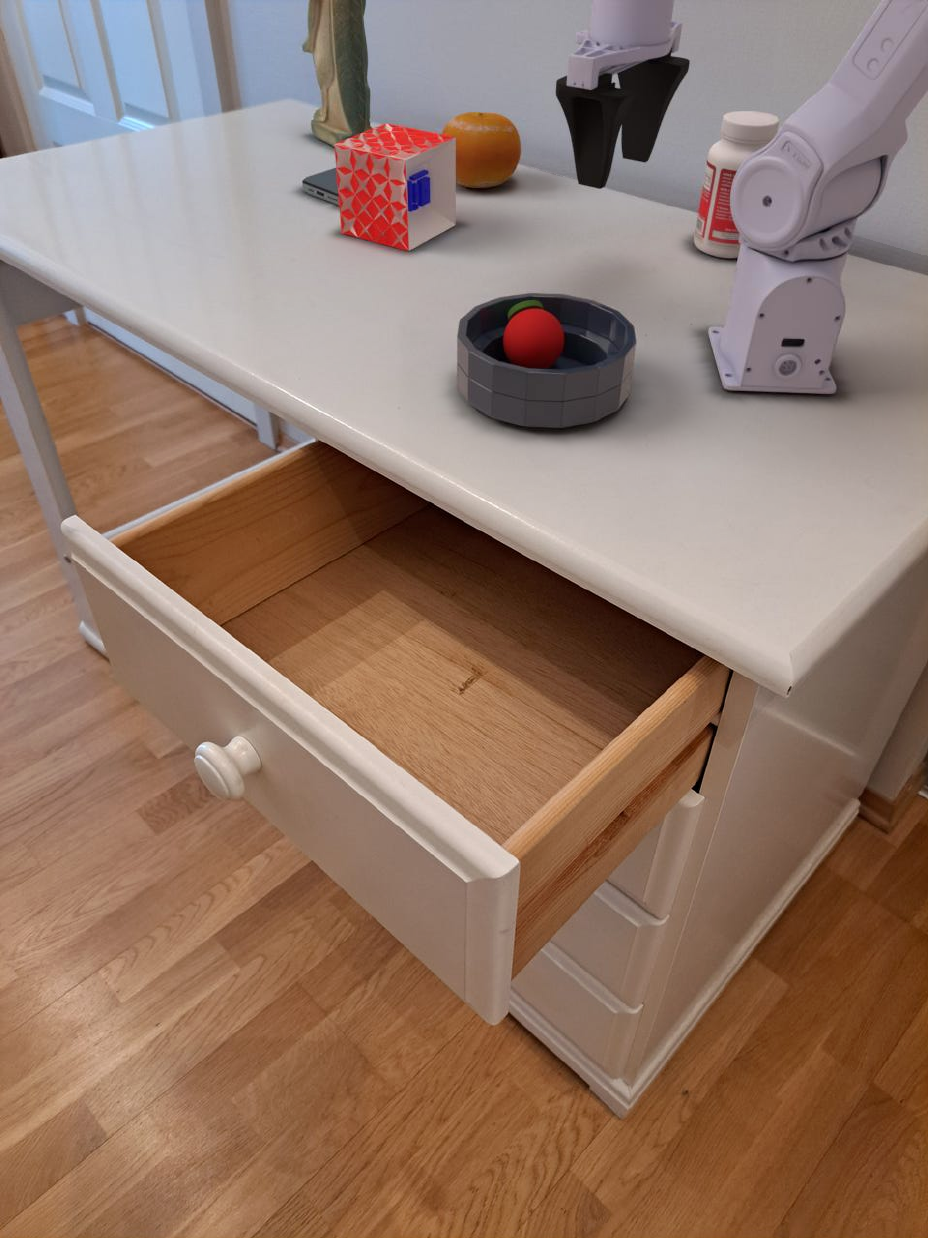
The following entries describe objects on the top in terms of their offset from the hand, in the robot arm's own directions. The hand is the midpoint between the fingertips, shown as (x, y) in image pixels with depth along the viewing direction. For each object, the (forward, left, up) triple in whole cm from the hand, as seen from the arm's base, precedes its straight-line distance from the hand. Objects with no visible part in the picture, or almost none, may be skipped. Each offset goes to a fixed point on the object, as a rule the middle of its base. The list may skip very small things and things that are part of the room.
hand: (614, 171), depth 73 cm
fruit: (+26, +12, -10) cm, 30 cm away
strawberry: (-18, +5, -8) cm, 20 cm away
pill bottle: (+10, -12, -10) cm, 18 cm away
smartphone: (+25, +23, -10) cm, 35 cm away
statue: (+40, +29, -10) cm, 50 cm away
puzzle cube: (+12, +19, -10) cm, 24 cm away
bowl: (-18, +5, -9) cm, 21 cm away
